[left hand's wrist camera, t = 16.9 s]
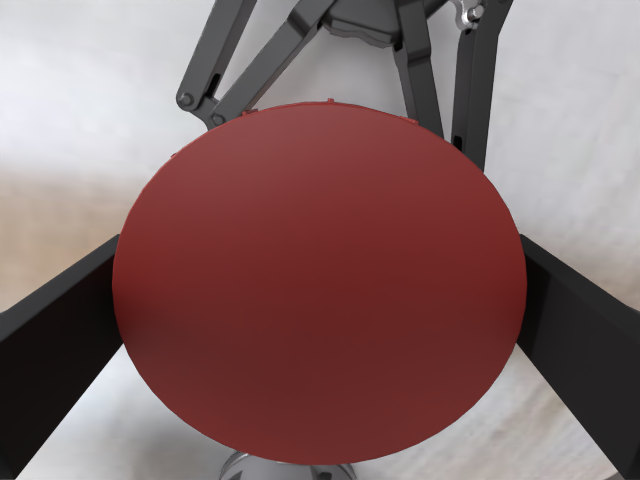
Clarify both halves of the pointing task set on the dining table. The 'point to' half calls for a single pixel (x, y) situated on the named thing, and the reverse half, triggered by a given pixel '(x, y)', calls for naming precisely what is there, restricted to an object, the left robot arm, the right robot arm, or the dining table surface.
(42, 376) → the left robot arm
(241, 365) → the lid
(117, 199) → the dining table surface
